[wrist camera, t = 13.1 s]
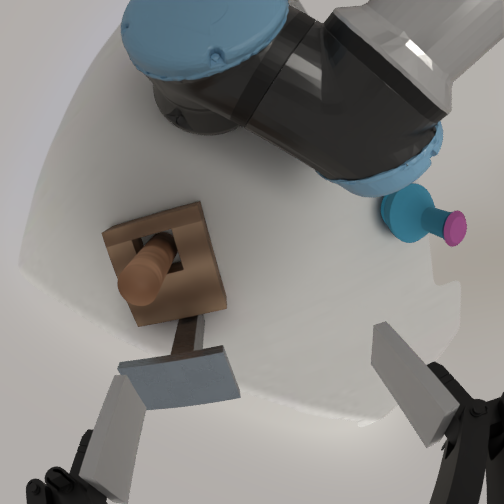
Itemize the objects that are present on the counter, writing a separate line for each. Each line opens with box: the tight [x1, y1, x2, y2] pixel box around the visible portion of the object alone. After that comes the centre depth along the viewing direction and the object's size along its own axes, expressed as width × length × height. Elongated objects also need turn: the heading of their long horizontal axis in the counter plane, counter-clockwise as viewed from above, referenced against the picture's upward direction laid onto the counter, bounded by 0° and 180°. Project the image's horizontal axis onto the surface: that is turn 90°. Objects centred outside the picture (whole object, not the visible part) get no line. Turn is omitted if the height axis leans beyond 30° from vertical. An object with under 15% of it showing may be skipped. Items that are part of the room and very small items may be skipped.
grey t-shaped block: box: [117, 314, 240, 410], centre depth 35 cm, size 7×12×17 cm, turn 102°
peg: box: [118, 232, 178, 306], centre depth 33 cm, size 4×4×14 cm
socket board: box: [102, 201, 227, 327], centre depth 38 cm, size 15×14×4 cm
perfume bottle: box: [381, 184, 467, 246], centre depth 34 cm, size 9×9×15 cm
